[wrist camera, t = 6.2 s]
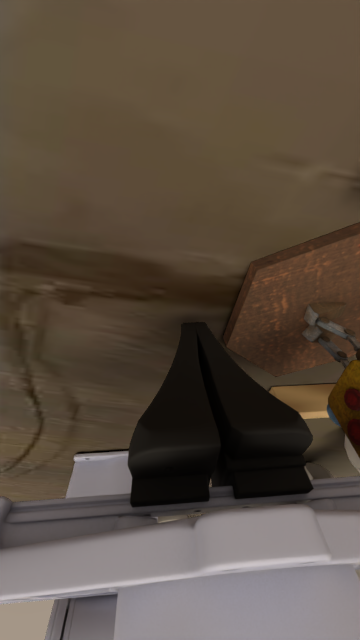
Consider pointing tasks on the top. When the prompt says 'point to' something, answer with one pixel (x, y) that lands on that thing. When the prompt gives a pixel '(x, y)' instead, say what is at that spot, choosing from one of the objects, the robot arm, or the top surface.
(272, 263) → the robot figurine
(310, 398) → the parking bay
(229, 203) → the top surface
